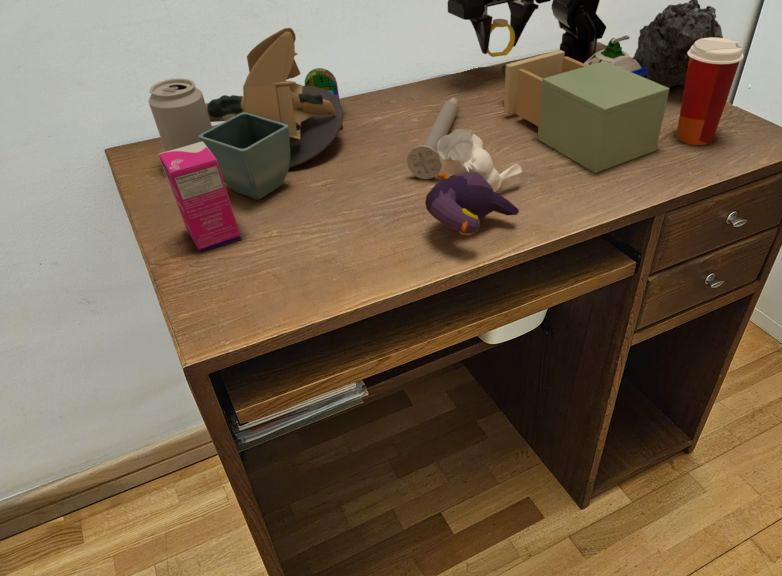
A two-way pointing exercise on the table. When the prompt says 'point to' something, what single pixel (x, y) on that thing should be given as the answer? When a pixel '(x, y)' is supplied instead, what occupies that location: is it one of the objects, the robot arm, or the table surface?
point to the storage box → (601, 115)
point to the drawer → (532, 82)
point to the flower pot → (250, 153)
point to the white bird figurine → (471, 158)
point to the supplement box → (200, 195)
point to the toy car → (618, 58)
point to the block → (323, 81)
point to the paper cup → (707, 88)
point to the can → (179, 112)
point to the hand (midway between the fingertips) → (498, 49)
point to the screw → (432, 144)
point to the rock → (674, 41)
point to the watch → (512, 37)
